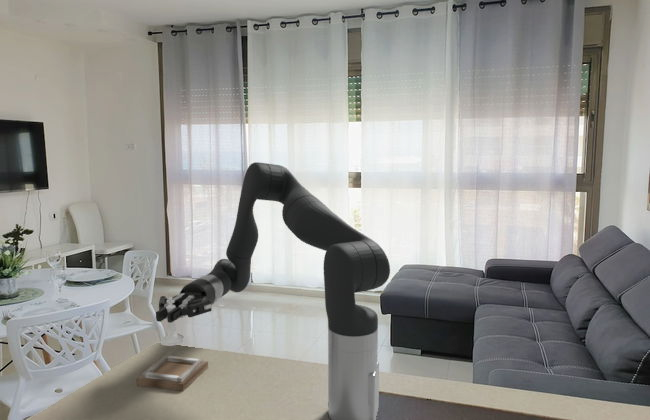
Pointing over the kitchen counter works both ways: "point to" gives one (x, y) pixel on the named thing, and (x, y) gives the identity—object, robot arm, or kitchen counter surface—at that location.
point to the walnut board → (173, 373)
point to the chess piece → (171, 330)
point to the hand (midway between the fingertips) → (163, 317)
